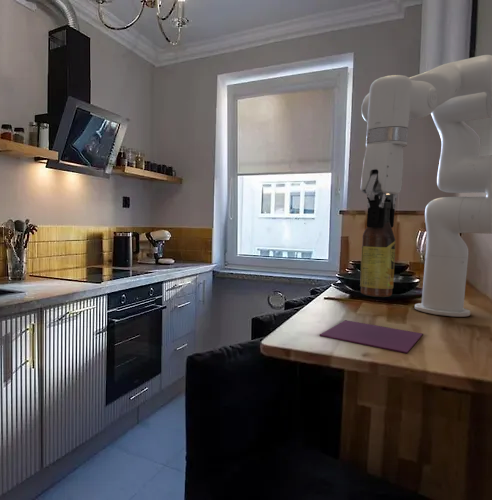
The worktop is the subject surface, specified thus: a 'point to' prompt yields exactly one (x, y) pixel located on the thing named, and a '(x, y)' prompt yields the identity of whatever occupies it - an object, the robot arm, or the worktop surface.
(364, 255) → the sauce bottle
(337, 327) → the cloth
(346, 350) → the worktop surface
